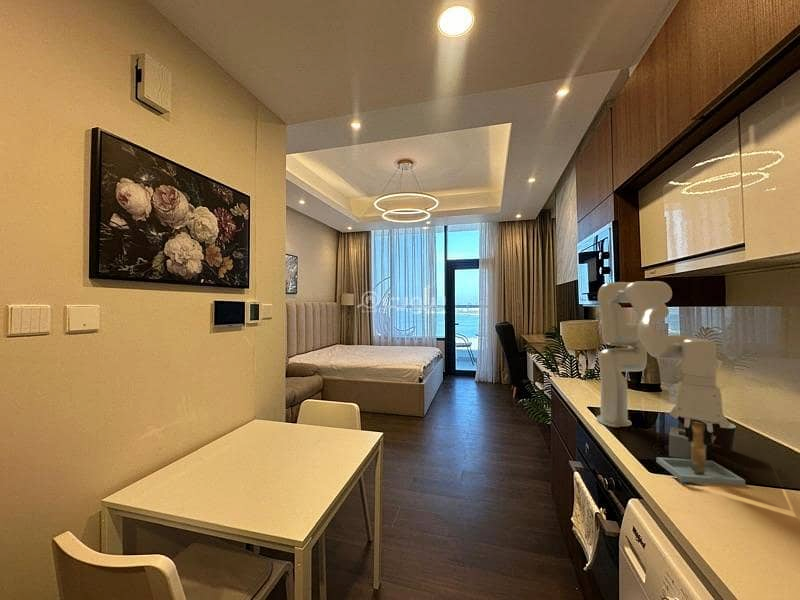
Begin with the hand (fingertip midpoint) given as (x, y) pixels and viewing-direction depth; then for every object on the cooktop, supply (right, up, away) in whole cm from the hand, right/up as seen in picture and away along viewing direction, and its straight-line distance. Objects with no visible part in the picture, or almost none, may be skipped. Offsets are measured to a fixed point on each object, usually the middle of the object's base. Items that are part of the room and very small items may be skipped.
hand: (698, 441), depth 96 cm
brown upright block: (+1, -9, -1) cm, 9 cm away
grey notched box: (+6, -10, +11) cm, 16 cm away
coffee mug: (+21, -11, +17) cm, 29 cm away
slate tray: (0, -11, 0) cm, 11 cm away
